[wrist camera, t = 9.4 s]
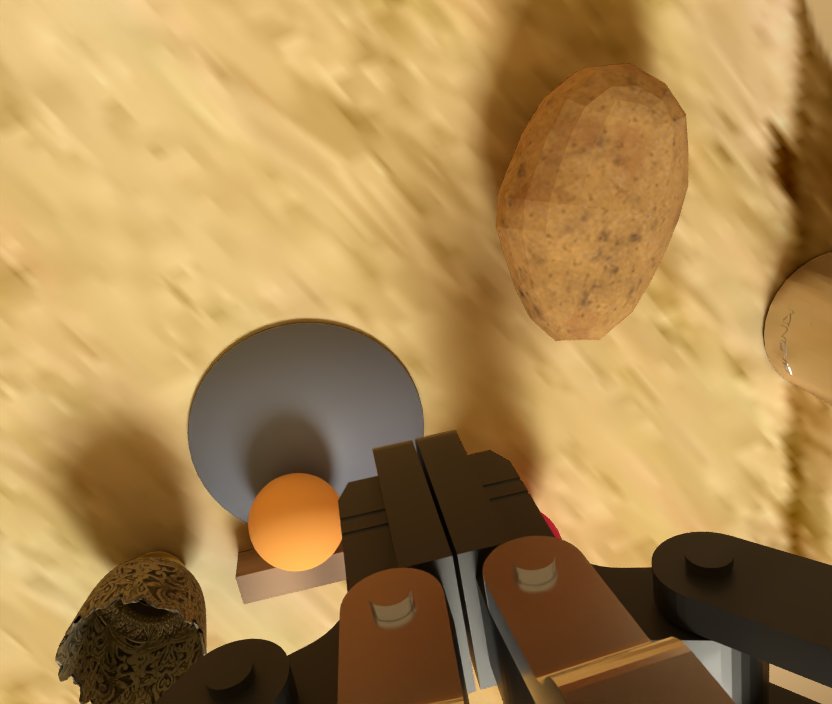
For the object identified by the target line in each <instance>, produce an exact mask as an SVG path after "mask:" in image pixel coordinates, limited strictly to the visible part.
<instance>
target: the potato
mask: <svg viewBox="0 0 832 704" xmlns="http://www.w3.org/2000/svg"><path fill="white" fill-rule="evenodd" d="M687 188H688V138H687V124H686V114H685V112H684V111H683V109H682V108H681V106H680V105H679V103H678V102H677V100H676V99H675V97H674V96H673V94H672V93H671V91H670V90H669V88H668V87H667V85H666V84H665V83H663V82H662V81H660V80H658V79H656V78H654V77H653V76H651V75H649V74H647V73H645V72H644V71H642V70H640V69H638V68H637V67H635V66H633V65H631V64H629V63H627V64H616V65H605V66H595V67H585V68H583V69H581V70H579V71H577V72H576V73H574V74H572V75H571V76H570V77H569V78H568V79H566V80H565V81H564V82H563V83H562V84H560V85H559V86H558V87H557V88H556V89H555V90H553V91H552V92H551V93H550V94H549V95H547V96H546V97H545V98H544V99H543V100H542V102H541V103H540V105H539V106H538V108H537V110H536V111H535V113H534V115H533V116H532V118H531V119H530V121H529V123H528V124H527V126H526V127H525V129H524V131H523V133H522V135H521V137H520V140H519V142H518V145H517V147H516V150H515V152H514V154H513V157H512V159H511V162H510V164H509V167H508V169H507V171H506V174H505V177H504V179H503V182H502V184H501V187H500V189H499V192H498V205H497V218H496V228H497V232H498V235H499V238H500V241H501V245H502V248H503V251H504V254H505V258H506V261H507V264H508V267H509V270H510V273H511V277H512V280H513V283H514V286H515V289H516V291H517V293H518V295H519V297H520V299H521V301H522V303H523V305H524V307H525V309H526V311H527V313H528V315H529V317H530V318H531V319H532V320H533V321H534V322H535V323H536V324H537V325H539V326H540V327H541V328H542V329H543V330H544V331H545V332H546V333H547V334H548V335H550V336H551V337H552V338H553V339H554V340H555V341H561V340H600V339H601V338H602V337H603V336H605V335H606V334H607V333H608V332H609V331H610V330H612V329H613V328H614V327H615V326H616V325H617V324H619V323H620V322H621V321H622V320H623V319H624V318H626V317H627V316H628V315H629V314H630V313H631V312H633V310H634V308H635V307H636V305H637V303H638V302H639V300H640V298H641V297H642V295H643V293H644V292H645V290H646V288H647V287H648V285H649V283H650V282H651V280H652V278H653V276H654V274H655V272H656V270H657V268H658V266H659V263H660V261H661V259H662V257H663V255H664V253H665V251H666V249H667V246H668V244H669V241H670V239H671V237H672V234H673V232H674V229H675V227H676V224H677V222H678V219H679V216H680V213H681V209H682V205H683V202H684V198H685V195H686V191H687Z"/></svg>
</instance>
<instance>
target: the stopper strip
mask: <svg viewBox="0 0 832 704" xmlns="http://www.w3.org/2000/svg"><path fill="white" fill-rule="evenodd" d="M236 580H237V583H238V587H239V590H240V593H241V597H242V600H243V603H244V604H247V603H251V602H255V601H259V600H264V599H268V598H272V597H276V596H280V595H284V594H289V593H293V592H297V591H301V590H305V589H309V588H314V587H318V586H322V585H326V584H330V583H334V582H339V581H343V580H346V572H345V562H344V553H343V544H342V540H341V542H340V544H339V546H338V547H337V549H336V550H335V552H334V553H333V554H332V555H331V556H330V557H329V558H328V559H327V560H326V561H325V562H323V563H322V564H320V565H318V566H316V567H314V568H312V569H308V570H304V571H286V570H282V569H279V568H276V567H274V566H272V565H271V564H269V563H267V562H266V561H265V560H264V559H263V558H262V557H261V556H260V555H259V554H258V553H257V551H256V550H255V549H253V550H249V551H245V552H240V553H239V554H238V562H237V570H236Z"/></svg>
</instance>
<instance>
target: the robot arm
mask: <svg viewBox="0 0 832 704" xmlns="http://www.w3.org/2000/svg"><path fill="white" fill-rule="evenodd" d="M764 341H765V349H766V352H767V355H768V358H769V361H770V362H771V364H772V365H773V367H774V368H775V370H776V371H777V372H778V373H779V374H780V375H781V376H782V377H783V378H785V379H786V380H788V381H789V382H791V383H793V384H795V385H797V386H798V387H800V388H802V389H804V390H805V391H807V392H809V393H811V394H813V395H814V396H816V397H818V398H820V399H821V400H823V401H825V402H826V403H828V404H830V405H831V406H832V252H829V253H825V254H823V255H821V256H818V257H816V258H814V259H812V260H810V261H809V262H807V263H806V264H804V265H802V266H801V267H799V268H798V269H797V270H796V271H795V272H794V273H793V274H792V275H791V276H790V277H789V278H788V279H787V280H786V281H785V282H784V284H783V285H782V286H781V288H780V289H779V290H778V292H777V294H776V296H775V298H774V299H773V301H772V303H771V305H770V308H769V311H768V314H767V318H766V321H765V330H764ZM415 445H416V449H415V447H414V444H413V441H412V440H408V441H403V442H399V443H395V444H390V445H386V446H381V447H377V448H372V450H373V455H374V460H375V465H376V470H377V474H378V476H374V477H370V478H365V479H361V480H356V481H352V482H348V484H347V485H346V487H345V489H344V491H343V493H342V494H341V496H340V498H339V500H338V506H339V515H340V525H341V534H342V544H343V553H344V562H345V572H346V581H347V591H348V592H347V594H346V595H345V597H344V599H343V601H342V603H341V607H340V620H339V621H338V622H337V623H336V624H335V626H334V627H333V628H332V629H331V630H330V631H328V632H327V633H326V634H325V635H324V636H322V637H321V638H319V639H318V640H316V641H315V642H313V643H311V644H309V645H308V646H306V647H304V648H302V649H300V650H298V651H296V652H294V653H292V654H290V655H288V656H287V655H286V653H285V652H284V650H283V649H282V648H281V647H280V646H278V645H277V644H275V643H273V642H270V641H267V640H262V639H245V640H239V641H234V642H231V643H228V644H225V645H223V646H221V647H218V648H216V649H214V650H213V651H211V652H209V653H207V654H206V655H204V656H203V657H202V658H200V659H199V660H198V661H197V662H195V663H194V664H193V665H192V666H191V667H190V668H189V669H188V670H187V671H186V672H185V673H184V674H183V675H182V676H181V677H180V678H179V679H178V680H177V681H176V682H175V683H174V684H173V685H172V686H171V687H170V688H169V689H168V690H167V691H166V692H165V693H164V694H163V695H162V696H161V697H160V698H159V699H158V700H157V701H156V702H155V703H154V704H469V699H468V694H467V693H470V692H474V691H476V687H475V681H474V676H473V670H472V664H473V667H474V670H475V673H476V676H477V680H478V683H479V686H480V689H485V688H489V687H492V686H496V685H497V686H498V688H499V691H500V694H501V697H502V700H503V704H820V703H818V702H816V701H813V700H811V699H808V698H806V697H804V696H801V695H799V694H796V693H794V692H792V691H789V690H787V689H784V688H782V687H779V686H777V685H775V684H772V683H770V682H769V663H770V664H773V665H775V666H778V667H780V668H783V669H785V670H788V671H790V672H793V673H795V674H798V675H800V676H803V677H805V678H808V679H811V680H813V681H815V682H818V683H821V684H823V685H826V686H828V687H831V688H832V565H828V564H825V563H821V562H818V561H815V560H811V559H808V558H804V557H801V556H797V555H794V554H791V553H787V552H784V551H780V550H777V549H774V548H770V547H767V546H763V545H760V544H757V543H753V542H750V541H746V540H743V539H740V538H736V537H733V536H729V535H725V534H721V533H714V532H691V533H684V534H680V535H677V536H674V537H672V538H669V539H667V540H666V541H664V542H663V543H661V544H660V545H659V546H658V547H657V548H656V550H655V551H654V553H653V556H652V567H651V568H610V567H602V566H597V565H593V564H590V563H589V561H588V560H587V559H586V557H585V556H584V555H583V554H582V552H581V551H580V550H579V549H578V548H576V547H575V546H574V545H572V544H570V543H568V542H566V541H564V540H561V539H558V538H556V537H555V536H554V534H553V532H552V531H551V529H550V527H549V526H548V524H547V522H546V521H545V519H544V517H543V516H542V514H541V512H540V511H539V509H538V507H537V506H536V504H535V502H534V501H533V499H532V497H531V496H530V494H528V491H527V489H526V487H525V486H524V484H523V482H522V481H520V477H519V476H518V474H517V472H516V471H515V469H514V467H513V466H512V464H511V462H510V461H509V460H507V459H505V458H503V457H502V456H500V455H498V454H496V453H494V452H493V451H491V450H488V451H484V452H479V453H475V454H471V455H467V453H466V451H465V449H464V447H463V445H462V443H461V441H460V439H459V437H458V435H457V433H456V431H455V430H452V431H448V432H443V433H439V434H434V435H430V436H425V437H421V438H416V439H415ZM470 657H471V659H470ZM471 661H472V664H471Z"/></svg>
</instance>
